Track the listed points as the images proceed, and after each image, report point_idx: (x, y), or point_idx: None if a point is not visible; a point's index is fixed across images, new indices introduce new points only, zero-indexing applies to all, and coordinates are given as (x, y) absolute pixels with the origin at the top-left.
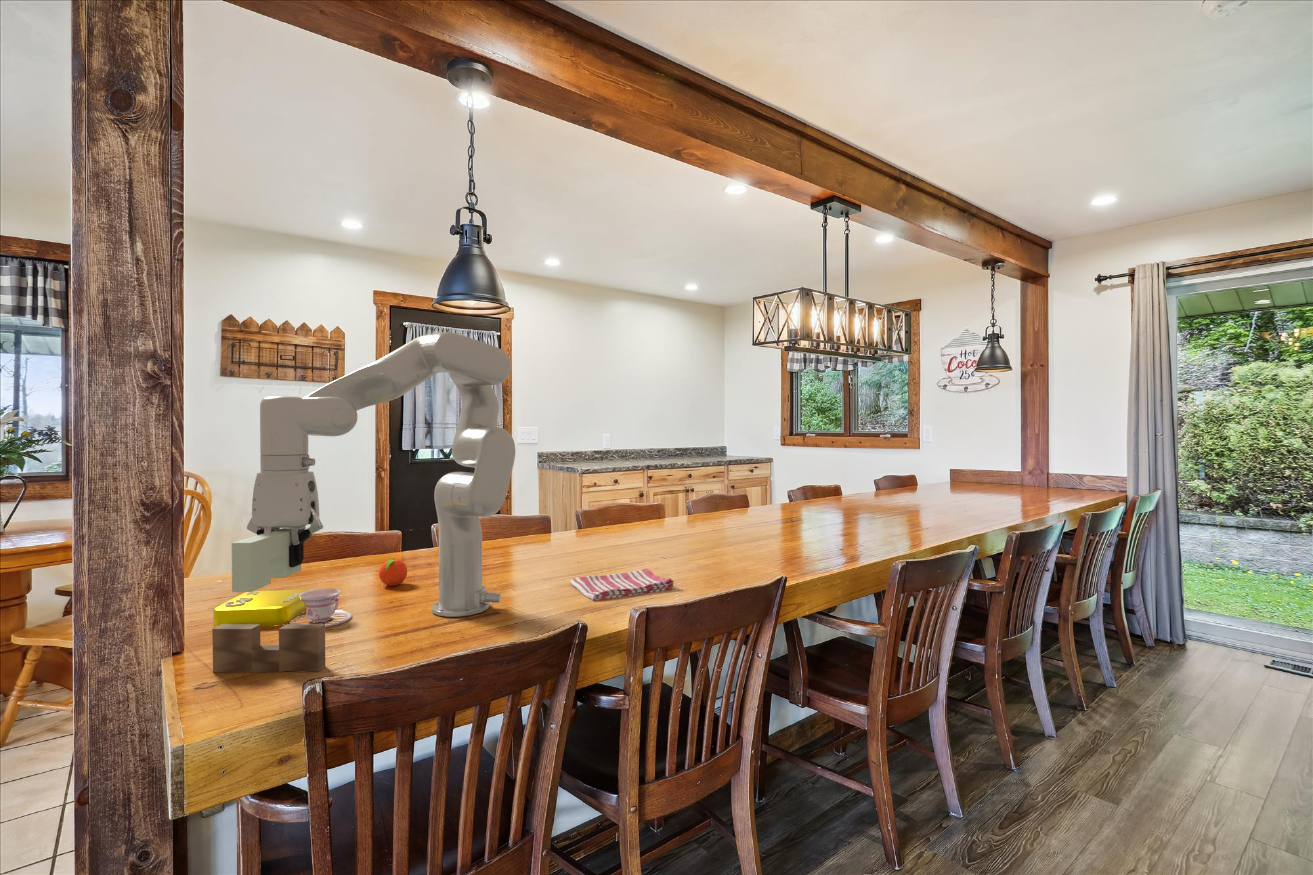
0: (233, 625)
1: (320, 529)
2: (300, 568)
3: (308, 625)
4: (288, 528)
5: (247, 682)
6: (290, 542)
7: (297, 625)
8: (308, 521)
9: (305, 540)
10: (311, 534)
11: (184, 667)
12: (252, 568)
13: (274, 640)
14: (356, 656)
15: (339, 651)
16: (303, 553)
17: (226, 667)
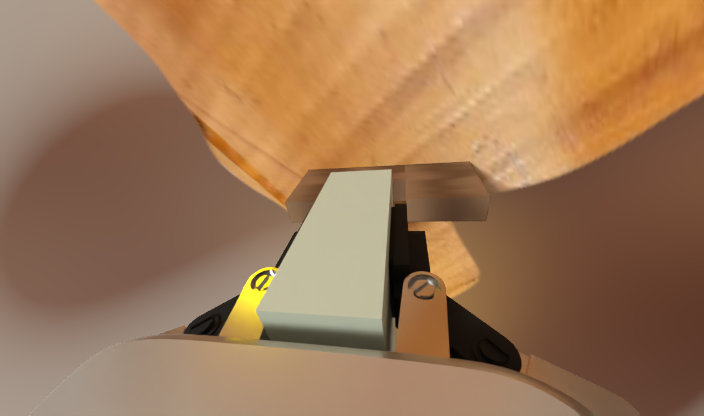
0: (310, 206)
1: (600, 395)
2: (391, 178)
3: (457, 205)
4: (310, 335)
5: None
6: (391, 328)
7: (433, 205)
8: (458, 382)
9: (448, 301)
10: (499, 338)
11: (260, 173)
12: None
13: (291, 33)
14: (513, 111)
15: (466, 86)
16: (426, 245)
17: None
